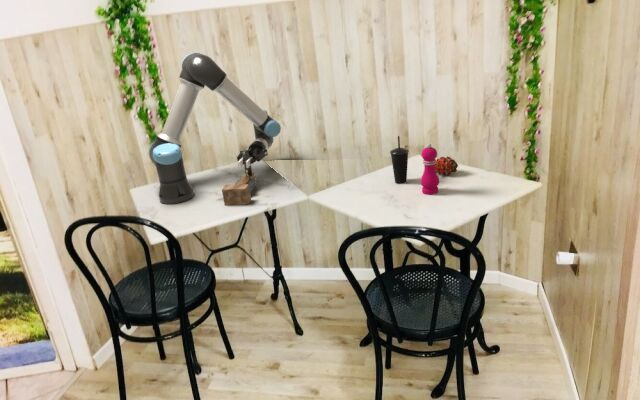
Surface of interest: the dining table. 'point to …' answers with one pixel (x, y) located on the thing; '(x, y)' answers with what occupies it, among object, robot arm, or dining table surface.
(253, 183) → the channel
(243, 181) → the mallet
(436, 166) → the pine cone
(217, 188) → the dining table surface
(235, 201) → the socket block
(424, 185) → the pepper mill
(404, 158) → the drinking cup
